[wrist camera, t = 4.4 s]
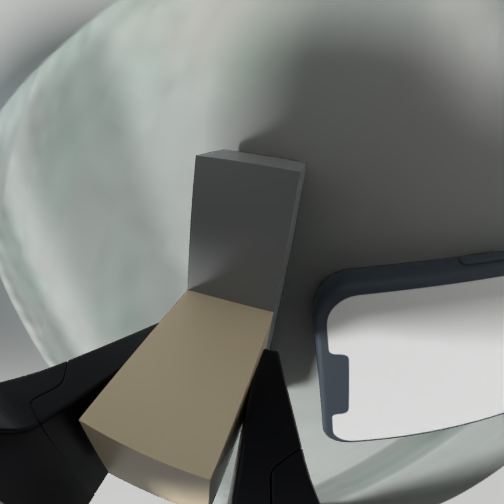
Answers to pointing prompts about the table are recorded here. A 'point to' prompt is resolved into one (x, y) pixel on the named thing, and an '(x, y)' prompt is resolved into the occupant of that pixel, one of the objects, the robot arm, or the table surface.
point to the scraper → (204, 334)
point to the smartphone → (410, 347)
